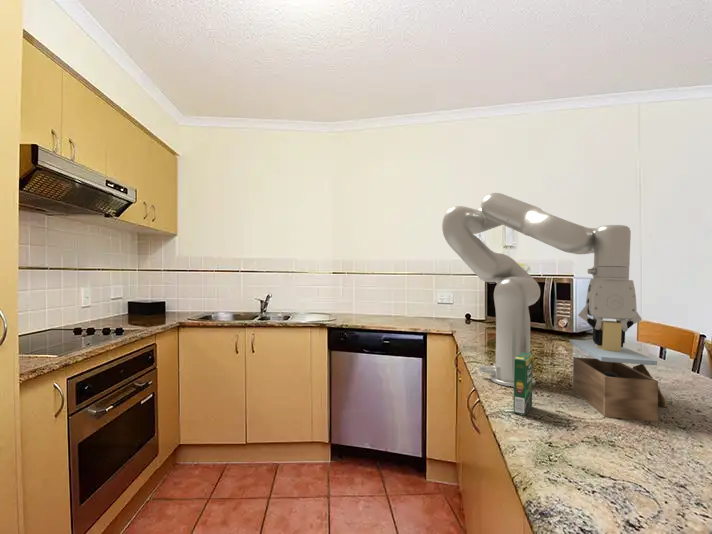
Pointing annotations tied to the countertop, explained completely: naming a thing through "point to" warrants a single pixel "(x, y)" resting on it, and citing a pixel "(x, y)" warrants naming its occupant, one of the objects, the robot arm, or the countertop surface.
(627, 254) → the robot arm
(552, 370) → the countertop surface
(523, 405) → the coffee box
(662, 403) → the rock
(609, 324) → the lid
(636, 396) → the crate
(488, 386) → the countertop surface
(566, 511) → the countertop surface
